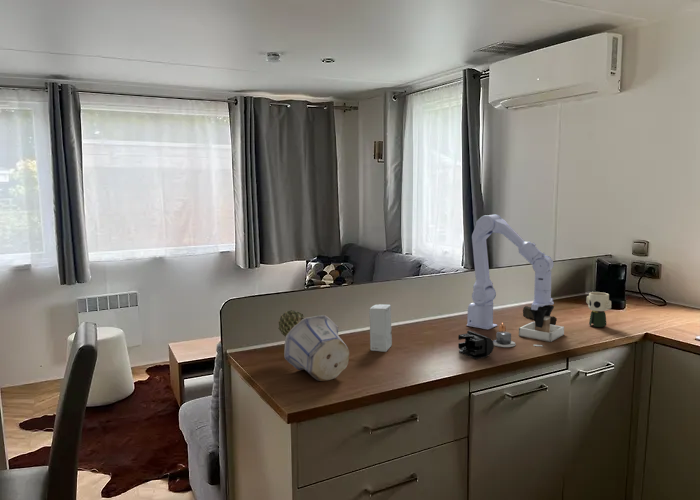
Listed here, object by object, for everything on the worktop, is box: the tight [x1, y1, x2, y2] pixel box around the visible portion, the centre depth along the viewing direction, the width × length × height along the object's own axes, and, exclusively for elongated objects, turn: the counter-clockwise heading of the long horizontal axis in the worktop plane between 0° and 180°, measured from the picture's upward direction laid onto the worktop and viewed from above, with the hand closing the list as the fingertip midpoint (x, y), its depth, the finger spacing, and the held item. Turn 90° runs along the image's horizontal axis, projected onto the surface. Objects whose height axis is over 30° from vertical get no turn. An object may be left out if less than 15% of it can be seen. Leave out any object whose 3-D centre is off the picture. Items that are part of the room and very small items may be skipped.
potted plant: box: [277, 309, 350, 382], centre depth 164 cm, size 18×18×30 cm
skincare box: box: [369, 303, 393, 353], centre depth 183 cm, size 8×6×15 cm
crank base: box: [492, 339, 544, 349], centre depth 186 cm, size 17×8×1 cm, turn 78°
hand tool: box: [522, 305, 558, 325], centre depth 219 cm, size 19×4×5 cm, turn 15°
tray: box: [518, 321, 565, 342], centre depth 197 cm, size 12×12×3 cm
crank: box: [495, 321, 512, 344], centre depth 190 cm, size 13×5×5 cm, turn 168°
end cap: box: [457, 330, 495, 360], centre depth 176 cm, size 10×7×7 cm
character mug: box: [586, 291, 612, 328], centre depth 207 cm, size 11×7×13 cm, turn 26°
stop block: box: [535, 315, 551, 333], centre depth 196 cm, size 4×4×6 cm
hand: (541, 325), depth 196 cm, fingers closed on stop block, 4 cm apart
